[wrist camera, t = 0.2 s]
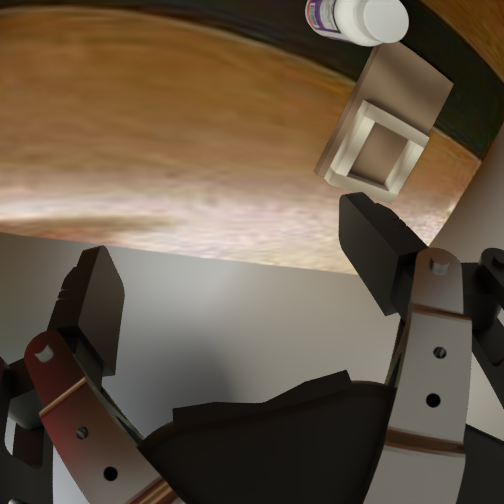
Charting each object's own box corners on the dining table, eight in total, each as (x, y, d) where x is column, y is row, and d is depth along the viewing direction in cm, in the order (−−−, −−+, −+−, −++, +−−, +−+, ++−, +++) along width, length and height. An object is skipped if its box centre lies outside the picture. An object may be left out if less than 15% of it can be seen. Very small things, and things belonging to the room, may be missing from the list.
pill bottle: (363, 10, 23) (426, 19, 16) (336, 47, 26) (393, 66, 19) (322, -22, 21) (379, -29, 14) (292, 17, 23) (341, 21, 16)
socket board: (381, 32, 25) (394, 35, 23) (448, 81, 30) (461, 87, 28) (313, 171, 35) (322, 182, 34) (386, 195, 40) (396, 205, 38)
